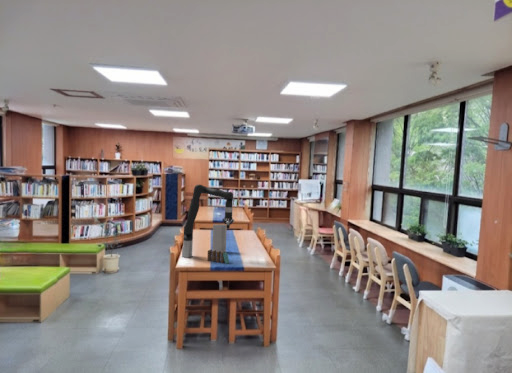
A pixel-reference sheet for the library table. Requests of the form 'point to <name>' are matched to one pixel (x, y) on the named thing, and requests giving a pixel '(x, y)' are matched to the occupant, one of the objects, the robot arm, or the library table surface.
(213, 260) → the domino
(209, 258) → the domino
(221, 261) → the domino
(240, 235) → the library table surface
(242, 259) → the library table surface
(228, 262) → the domino
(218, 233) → the tall gray block
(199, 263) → the library table surface
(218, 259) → the domino
